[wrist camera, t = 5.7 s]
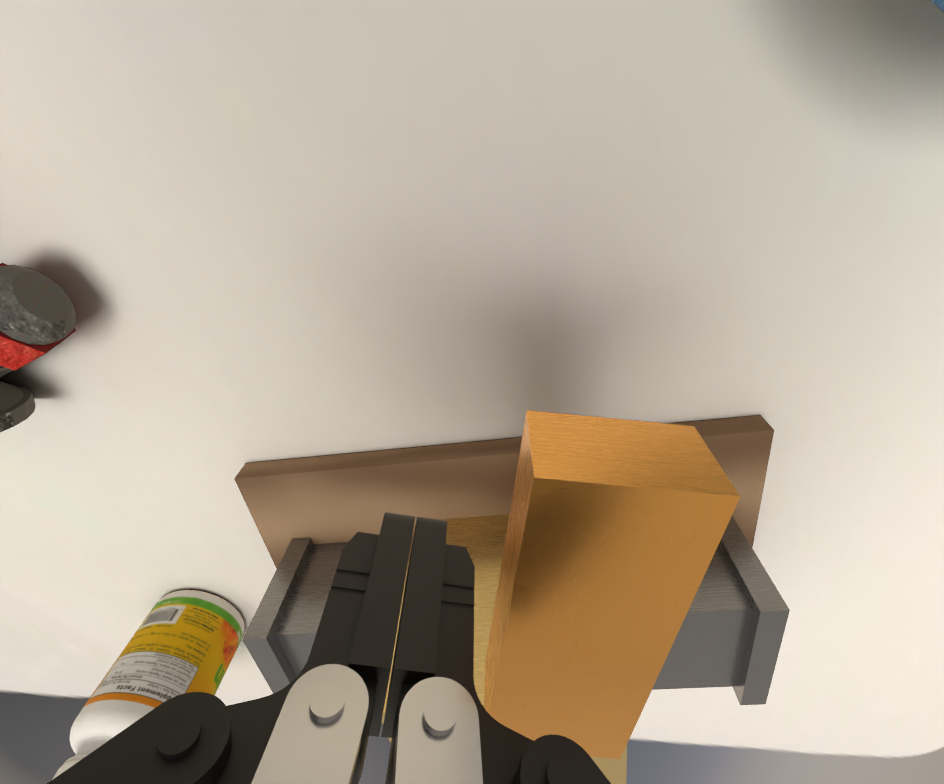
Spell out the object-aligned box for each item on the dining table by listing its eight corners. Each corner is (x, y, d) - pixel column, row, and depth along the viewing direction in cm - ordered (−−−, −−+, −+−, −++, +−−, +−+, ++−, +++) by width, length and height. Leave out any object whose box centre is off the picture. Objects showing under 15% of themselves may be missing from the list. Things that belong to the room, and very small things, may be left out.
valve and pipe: (292, 524, 25) (180, 746, 16) (723, 490, 23) (869, 725, 14) (330, 614, 28) (255, 839, 19) (709, 591, 26) (820, 834, 17)
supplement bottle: (230, 654, 32) (134, 850, 23) (148, 623, 30) (13, 818, 22) (259, 609, 29) (163, 808, 21) (171, 574, 28) (30, 770, 20)
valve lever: (555, 820, 17) (562, 898, 16) (454, 811, 17) (450, 888, 16) (704, 427, 9) (753, 498, 8) (516, 409, 9) (521, 475, 8)
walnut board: (245, 463, 24) (234, 478, 23) (760, 415, 21) (774, 430, 20) (326, 642, 31) (320, 660, 29) (725, 621, 28) (734, 640, 27)
